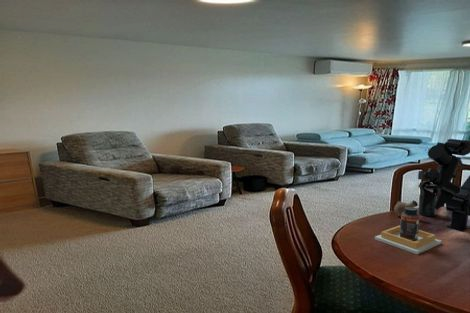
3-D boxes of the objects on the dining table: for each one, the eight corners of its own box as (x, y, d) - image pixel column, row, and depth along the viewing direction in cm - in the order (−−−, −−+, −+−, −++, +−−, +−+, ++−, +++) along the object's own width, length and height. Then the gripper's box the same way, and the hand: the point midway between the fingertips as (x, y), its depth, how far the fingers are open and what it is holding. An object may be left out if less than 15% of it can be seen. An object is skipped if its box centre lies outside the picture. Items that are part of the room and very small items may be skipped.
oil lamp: (416, 218, 163) (418, 199, 161) (415, 220, 159) (417, 202, 158) (394, 214, 167) (395, 196, 166) (393, 217, 164) (394, 199, 163)
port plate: (399, 230, 148) (399, 222, 148) (441, 243, 136) (442, 235, 135) (374, 239, 139) (375, 231, 139) (417, 254, 126) (418, 245, 126)
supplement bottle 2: (437, 214, 168) (439, 187, 166) (432, 217, 163) (435, 190, 161) (420, 210, 173) (423, 185, 171) (415, 214, 168) (417, 187, 166)
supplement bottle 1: (421, 241, 135) (424, 210, 133) (405, 242, 134) (408, 211, 132) (410, 235, 141) (413, 205, 139) (396, 236, 140) (398, 206, 138)
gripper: (414, 162, 152) (398, 197, 151) (440, 158, 133) (421, 199, 132) (440, 174, 152) (424, 210, 151) (469, 173, 133) (451, 213, 132)
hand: (429, 208), depth 141 cm, fingers open, 9 cm apart
